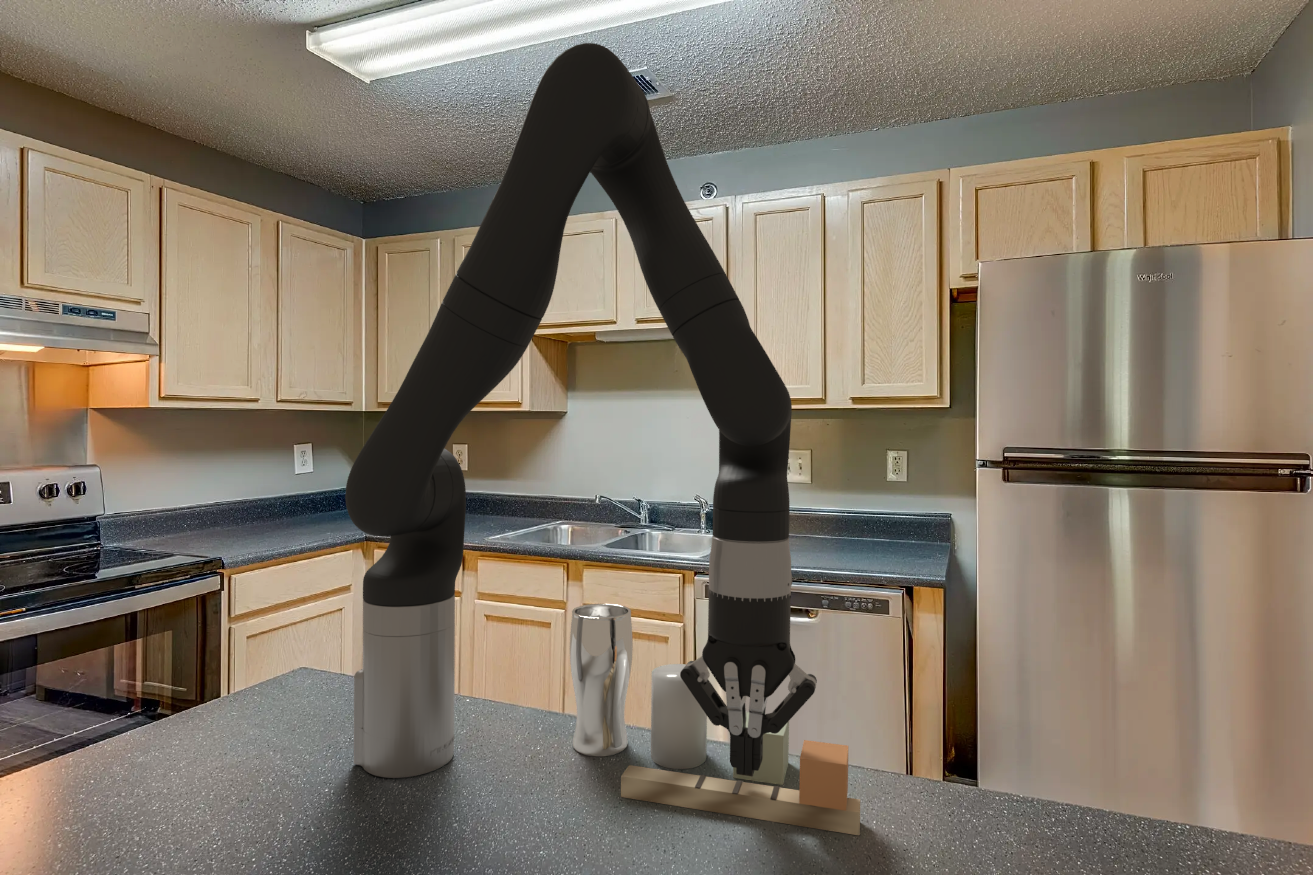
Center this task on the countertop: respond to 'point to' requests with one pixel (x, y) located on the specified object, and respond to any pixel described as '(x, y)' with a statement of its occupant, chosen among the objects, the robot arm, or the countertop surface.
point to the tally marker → (824, 775)
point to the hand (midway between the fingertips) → (746, 771)
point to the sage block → (771, 757)
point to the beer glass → (600, 676)
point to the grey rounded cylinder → (676, 721)
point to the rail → (736, 799)
